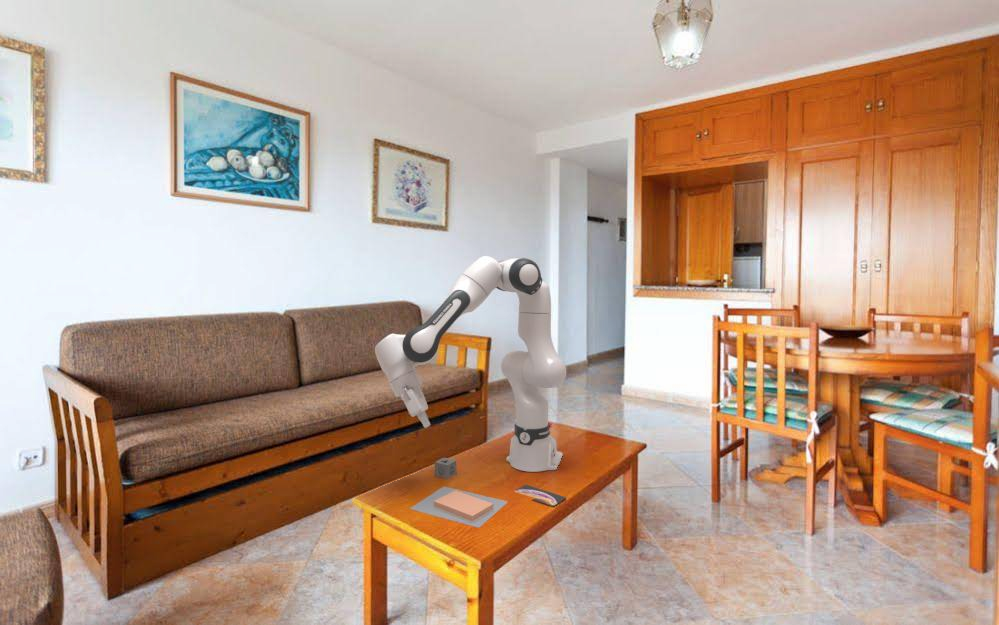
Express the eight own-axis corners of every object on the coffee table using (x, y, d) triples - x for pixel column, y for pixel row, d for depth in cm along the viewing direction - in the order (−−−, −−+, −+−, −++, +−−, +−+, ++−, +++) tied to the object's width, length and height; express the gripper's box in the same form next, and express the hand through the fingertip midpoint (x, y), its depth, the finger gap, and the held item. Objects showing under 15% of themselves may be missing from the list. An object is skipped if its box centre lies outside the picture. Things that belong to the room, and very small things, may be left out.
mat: (443, 487, 152) (443, 486, 152) (508, 503, 142) (508, 501, 142) (409, 510, 137) (409, 508, 137) (478, 529, 127) (479, 527, 127)
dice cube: (434, 477, 160) (434, 462, 160) (443, 472, 165) (444, 457, 164) (447, 480, 158) (447, 465, 157) (456, 475, 162) (456, 460, 162)
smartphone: (554, 506, 139) (510, 492, 149) (554, 509, 140) (510, 495, 149) (567, 497, 145) (525, 483, 154) (567, 499, 145) (525, 486, 155)
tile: (433, 501, 138) (472, 516, 129) (455, 490, 145) (493, 503, 137) (433, 507, 138) (472, 522, 130) (455, 496, 145) (493, 510, 137)
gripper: (412, 380, 140) (434, 424, 139) (419, 380, 160) (439, 419, 159) (392, 390, 139) (414, 435, 138) (402, 390, 159) (421, 428, 158)
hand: (427, 426), depth 148 cm, fingers closed
